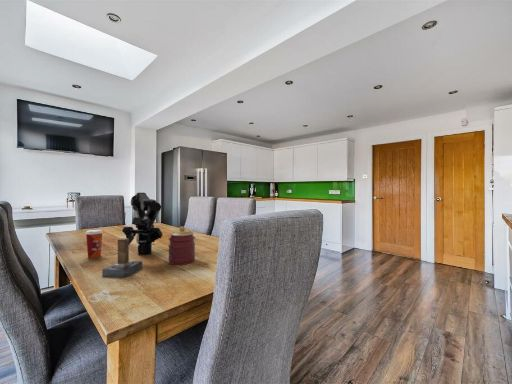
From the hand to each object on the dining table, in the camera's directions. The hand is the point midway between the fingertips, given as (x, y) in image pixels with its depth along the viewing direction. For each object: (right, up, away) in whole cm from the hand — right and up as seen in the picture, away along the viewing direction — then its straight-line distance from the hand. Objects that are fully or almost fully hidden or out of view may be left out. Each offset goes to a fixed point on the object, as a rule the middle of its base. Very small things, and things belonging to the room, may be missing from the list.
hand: (134, 247), depth 112 cm
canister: (+20, -9, +8) cm, 23 cm away
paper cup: (-29, -9, +15) cm, 34 cm away
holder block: (-1, -9, -8) cm, 12 cm away
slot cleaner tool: (-1, -8, -8) cm, 11 cm away
